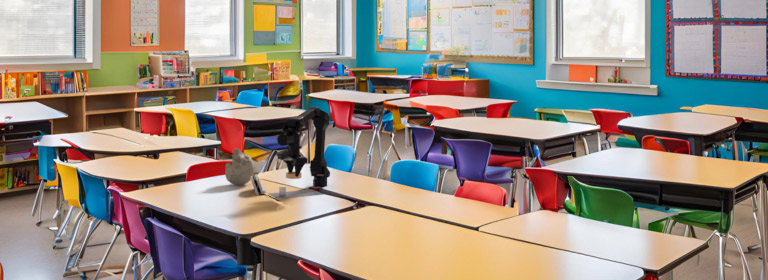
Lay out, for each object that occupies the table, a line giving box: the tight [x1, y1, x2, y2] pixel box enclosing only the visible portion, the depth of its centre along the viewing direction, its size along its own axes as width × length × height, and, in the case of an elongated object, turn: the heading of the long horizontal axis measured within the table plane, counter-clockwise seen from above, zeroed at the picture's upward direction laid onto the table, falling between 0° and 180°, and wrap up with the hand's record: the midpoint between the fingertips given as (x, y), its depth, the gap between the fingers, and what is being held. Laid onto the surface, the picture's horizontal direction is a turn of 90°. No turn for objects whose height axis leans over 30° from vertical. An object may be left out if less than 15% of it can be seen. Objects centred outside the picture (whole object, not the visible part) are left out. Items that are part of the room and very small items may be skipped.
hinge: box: [250, 173, 267, 196], centre depth 362 cm, size 17×5×10 cm, turn 12°
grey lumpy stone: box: [224, 147, 256, 186], centre depth 377 cm, size 13×15×20 cm
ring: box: [285, 171, 303, 180], centre depth 350 cm, size 7×7×2 cm
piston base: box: [267, 186, 325, 202], centre depth 352 cm, size 24×14×5 cm, turn 121°
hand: (293, 175), depth 350 cm, fingers closed on ring, 7 cm apart
